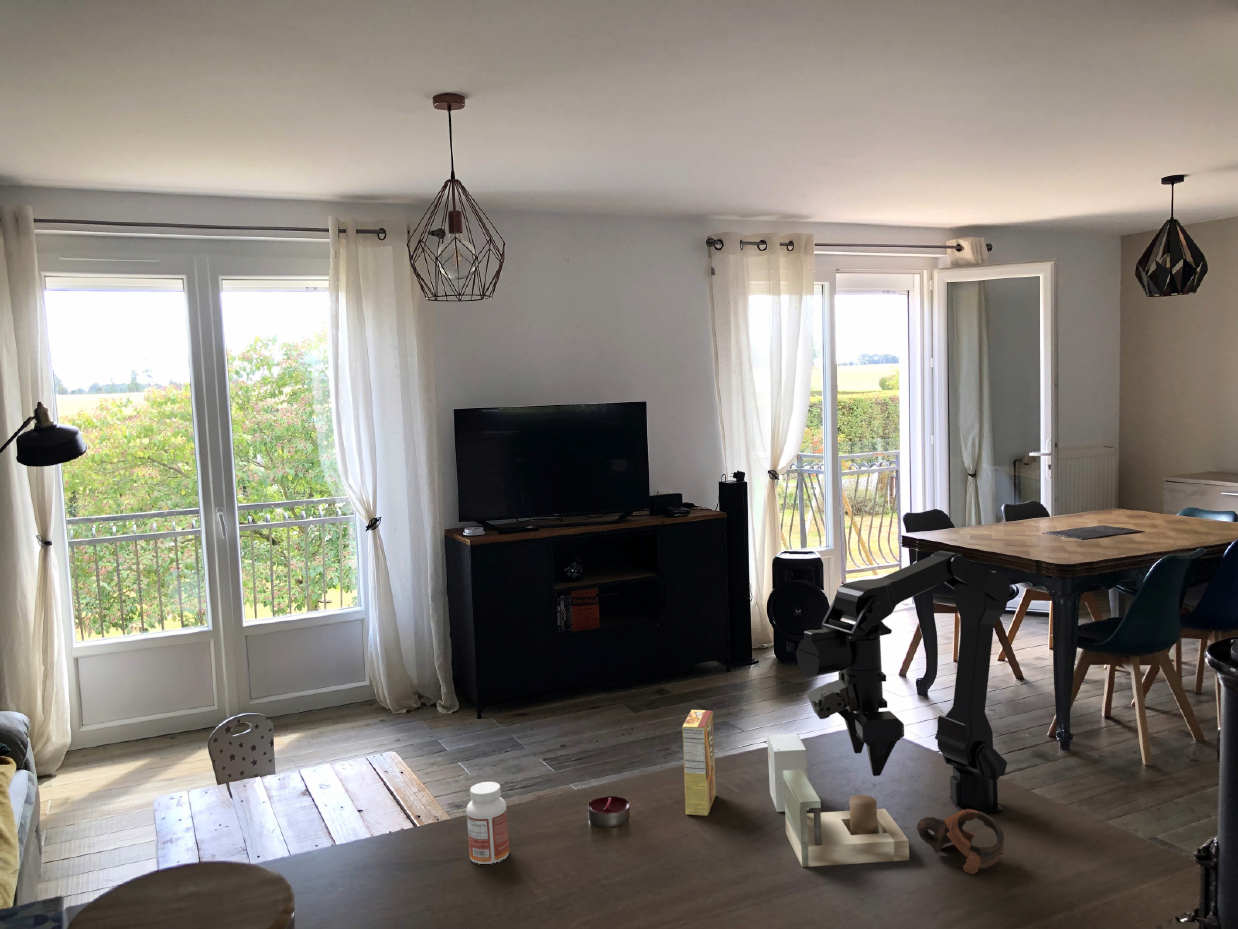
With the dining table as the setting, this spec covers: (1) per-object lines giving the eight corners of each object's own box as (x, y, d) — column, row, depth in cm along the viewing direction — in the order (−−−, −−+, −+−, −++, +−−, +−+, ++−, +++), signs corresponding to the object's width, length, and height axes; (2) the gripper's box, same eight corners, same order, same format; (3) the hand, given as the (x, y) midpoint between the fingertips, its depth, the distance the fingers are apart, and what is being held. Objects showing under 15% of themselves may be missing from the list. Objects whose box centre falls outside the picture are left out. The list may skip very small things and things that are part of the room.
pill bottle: (504, 844, 148) (500, 776, 148) (513, 861, 142) (509, 790, 142) (466, 852, 146) (461, 783, 145) (473, 870, 140) (469, 798, 140)
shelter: (884, 825, 148) (882, 764, 148) (910, 861, 136) (908, 795, 136) (785, 831, 148) (782, 770, 147) (802, 868, 136) (800, 802, 135)
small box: (809, 811, 155) (807, 750, 154) (776, 813, 155) (773, 751, 154) (801, 792, 163) (798, 733, 162) (769, 793, 163) (767, 734, 162)
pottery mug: (988, 845, 141) (1006, 811, 137) (994, 900, 133) (1013, 866, 129) (908, 823, 143) (924, 789, 139) (910, 876, 135) (926, 842, 131)
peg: (873, 838, 144) (871, 794, 144) (881, 850, 140) (879, 805, 140) (847, 840, 144) (846, 796, 144) (855, 852, 140) (853, 807, 140)
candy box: (693, 793, 164) (689, 709, 163) (717, 795, 163) (713, 709, 162) (684, 815, 156) (680, 726, 155) (709, 817, 154) (705, 727, 154)
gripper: (796, 653, 152) (801, 746, 153) (827, 687, 133) (832, 793, 134) (863, 648, 152) (867, 741, 153) (903, 681, 134) (907, 786, 135)
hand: (866, 764), depth 144 cm, fingers open, 9 cm apart
